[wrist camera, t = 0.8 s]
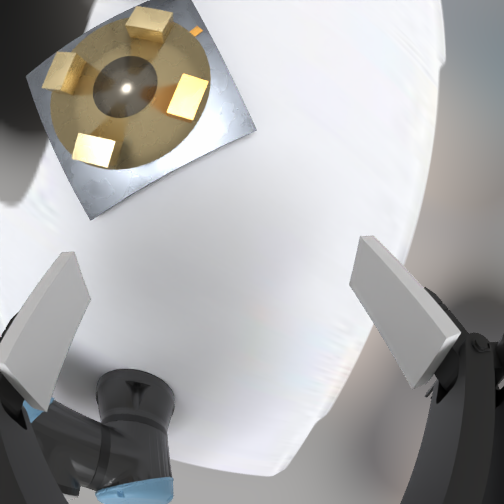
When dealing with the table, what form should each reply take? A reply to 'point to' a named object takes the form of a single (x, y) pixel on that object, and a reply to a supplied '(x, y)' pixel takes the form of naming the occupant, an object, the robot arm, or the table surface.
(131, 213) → the table surface
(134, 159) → the lathe chuck
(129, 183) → the housing
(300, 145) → the table surface
